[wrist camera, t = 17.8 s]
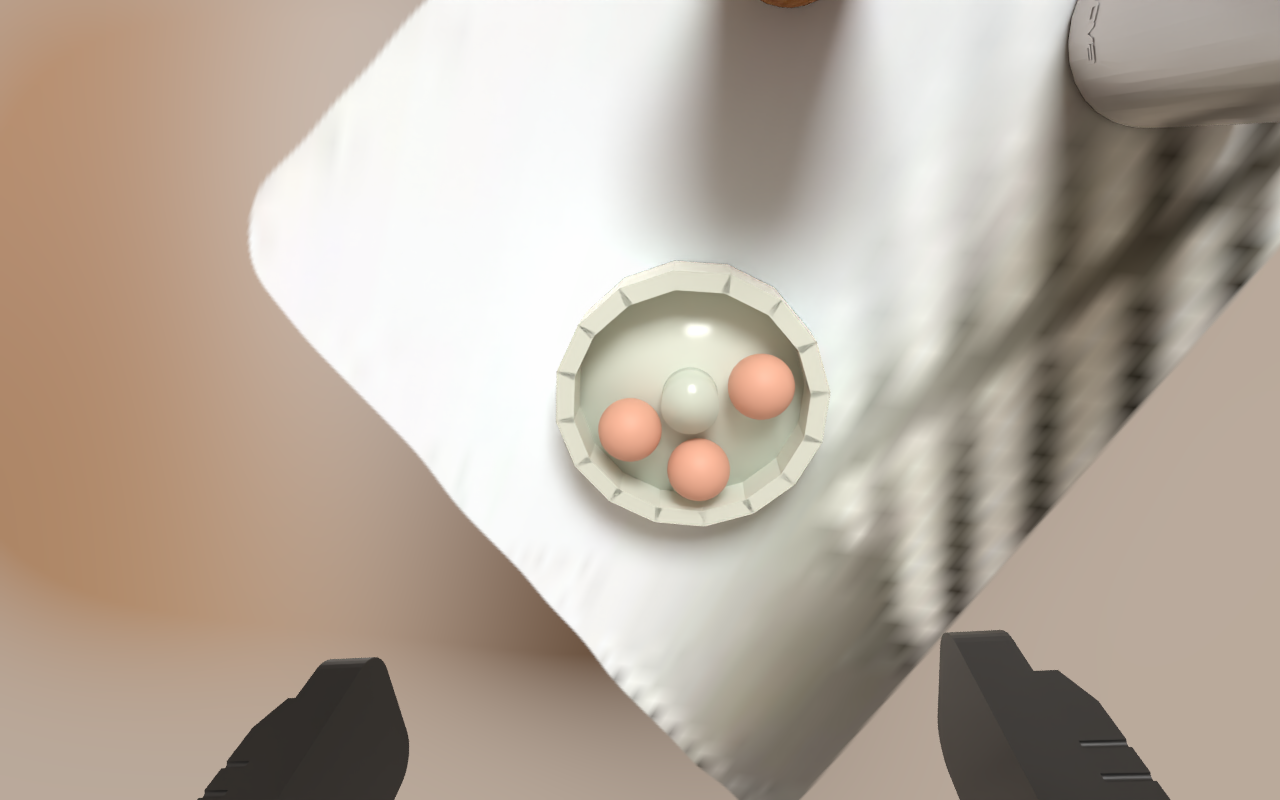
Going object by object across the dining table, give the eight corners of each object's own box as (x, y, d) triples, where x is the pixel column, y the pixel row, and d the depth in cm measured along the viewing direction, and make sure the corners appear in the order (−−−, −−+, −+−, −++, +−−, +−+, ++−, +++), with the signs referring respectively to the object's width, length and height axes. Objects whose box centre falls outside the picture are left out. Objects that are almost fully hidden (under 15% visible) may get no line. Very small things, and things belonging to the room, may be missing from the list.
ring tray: (836, 271, 36) (849, 282, 33) (798, 507, 42) (806, 535, 39) (568, 253, 37) (557, 262, 34) (564, 488, 42) (554, 513, 39)
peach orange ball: (728, 479, 40) (735, 509, 37) (669, 484, 40) (671, 515, 37) (724, 425, 39) (731, 452, 36) (663, 431, 39) (664, 458, 36)
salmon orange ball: (794, 348, 37) (804, 367, 34) (785, 408, 38) (794, 432, 35) (729, 343, 37) (733, 362, 34) (723, 403, 38) (726, 427, 35)
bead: (585, 398, 38) (595, 437, 35) (644, 377, 38) (659, 414, 35) (604, 443, 40) (615, 483, 37) (660, 422, 40) (675, 461, 37)
